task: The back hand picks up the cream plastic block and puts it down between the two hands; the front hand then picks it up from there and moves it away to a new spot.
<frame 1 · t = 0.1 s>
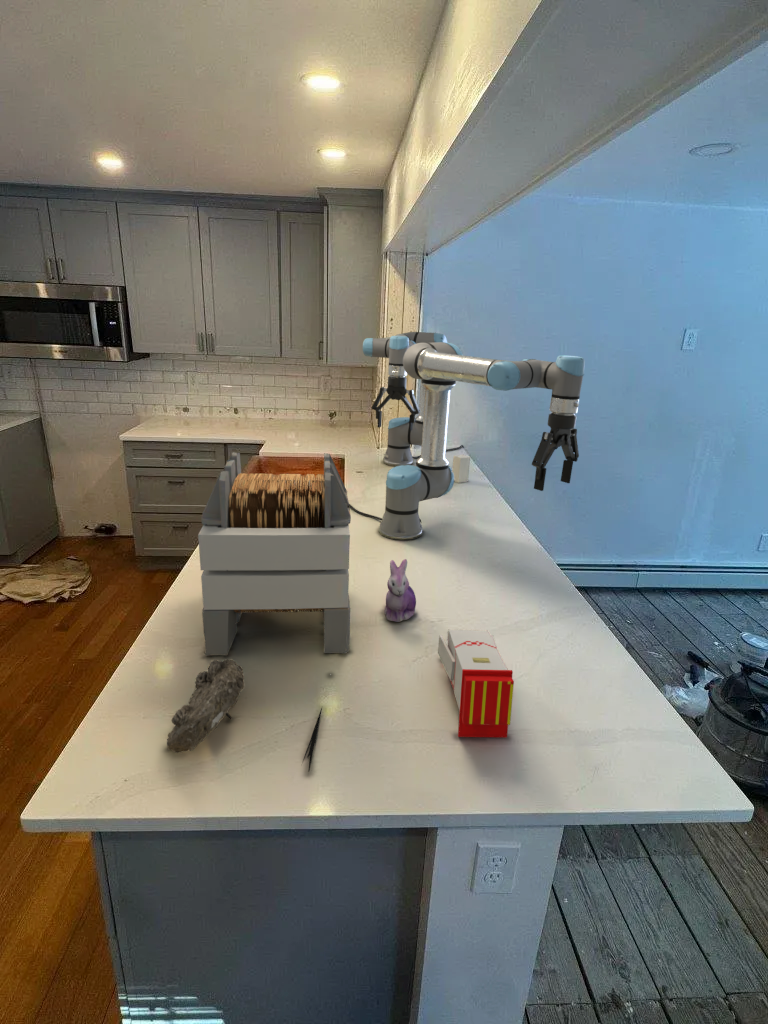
front hand: (552, 485, 166), 28 cm above the counter, tool pointing down, fingers open, 13 cm apart
back hand: (394, 428, 234), 28 cm above the counter, tool pointing down, fingers open, 13 cm apart
figurine: (399, 614, 147), on the counter
record crate: (282, 618, 143), on the counter
block: (459, 480, 266), on the counter
feather: (319, 719, 109), on the counter
toy: (469, 691, 119), on the counter
fossil: (212, 717, 108), on the counter
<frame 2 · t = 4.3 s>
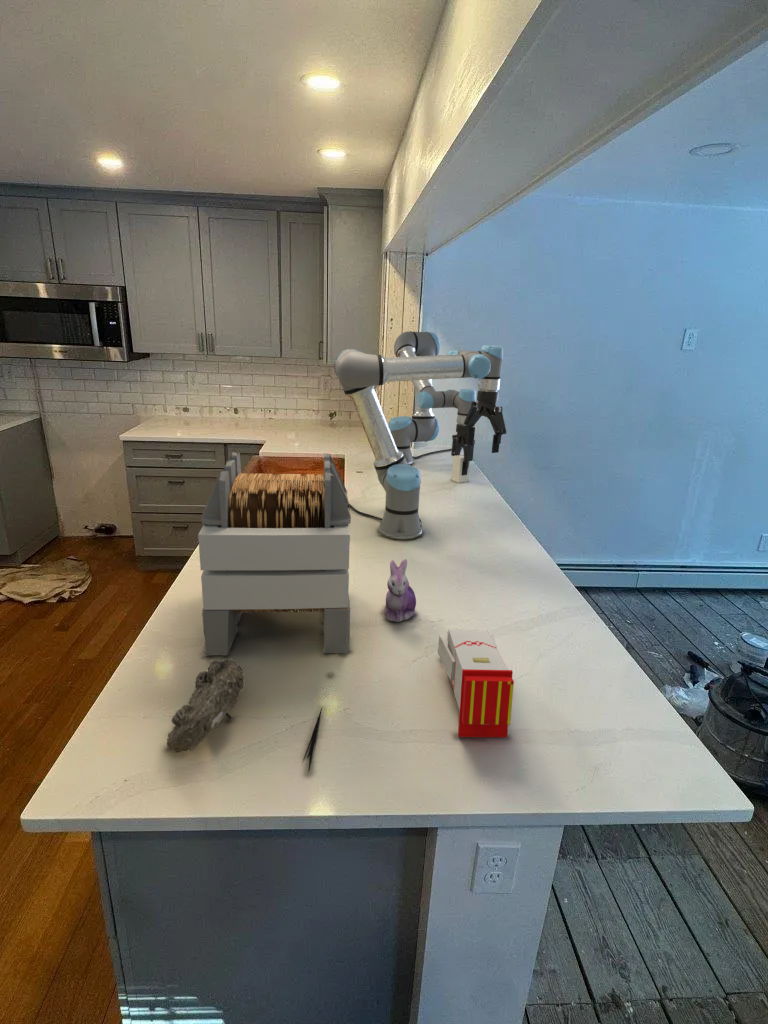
front hand: (482, 448, 210), 27 cm above the counter, tool pointing down, fingers open, 13 cm apart
back hand: (460, 473, 265), 4 cm above the counter, tool pointing down, fingers closed on block, 5 cm apart
block: (459, 480, 266), on the counter, touching back hand
everything else where it was.
when the back hand's fingers open (5 cm above the counter, at t = 10.5 s): block drops 1 cm, on the counter.
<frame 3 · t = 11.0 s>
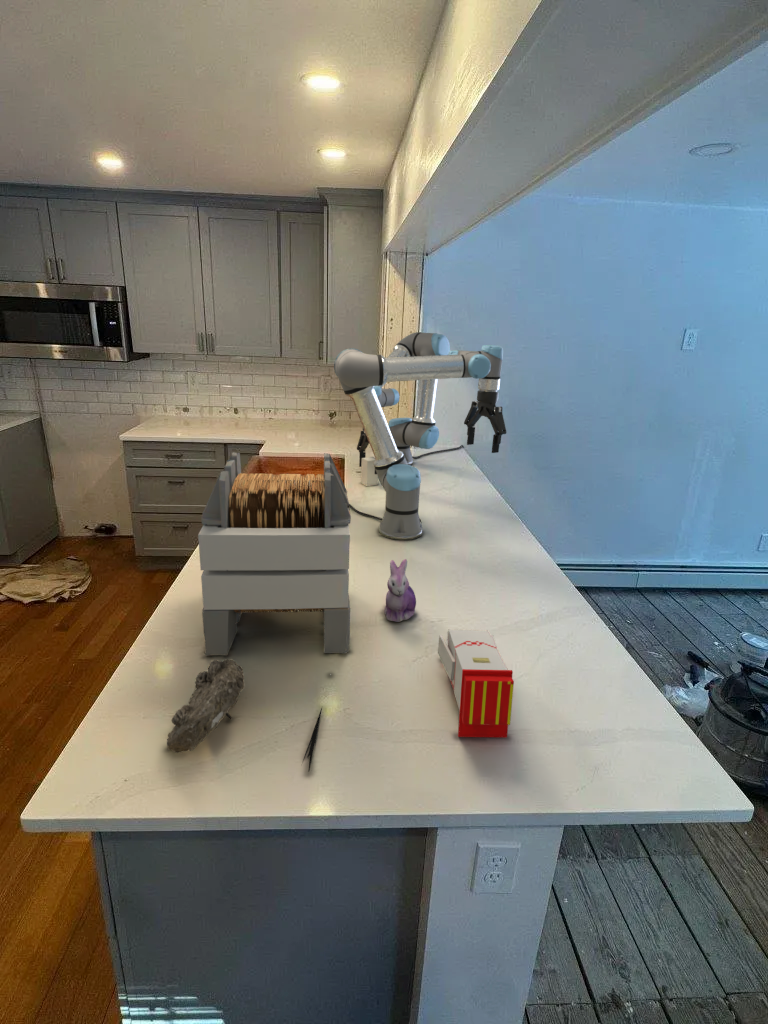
front hand: (482, 448, 210), 27 cm above the counter, tool pointing down, fingers open, 13 cm apart
back hand: (369, 470, 253), 6 cm above the counter, tool pointing down, fingers open, 12 cm apart
block: (369, 483, 255), on the counter
everything else where it was.
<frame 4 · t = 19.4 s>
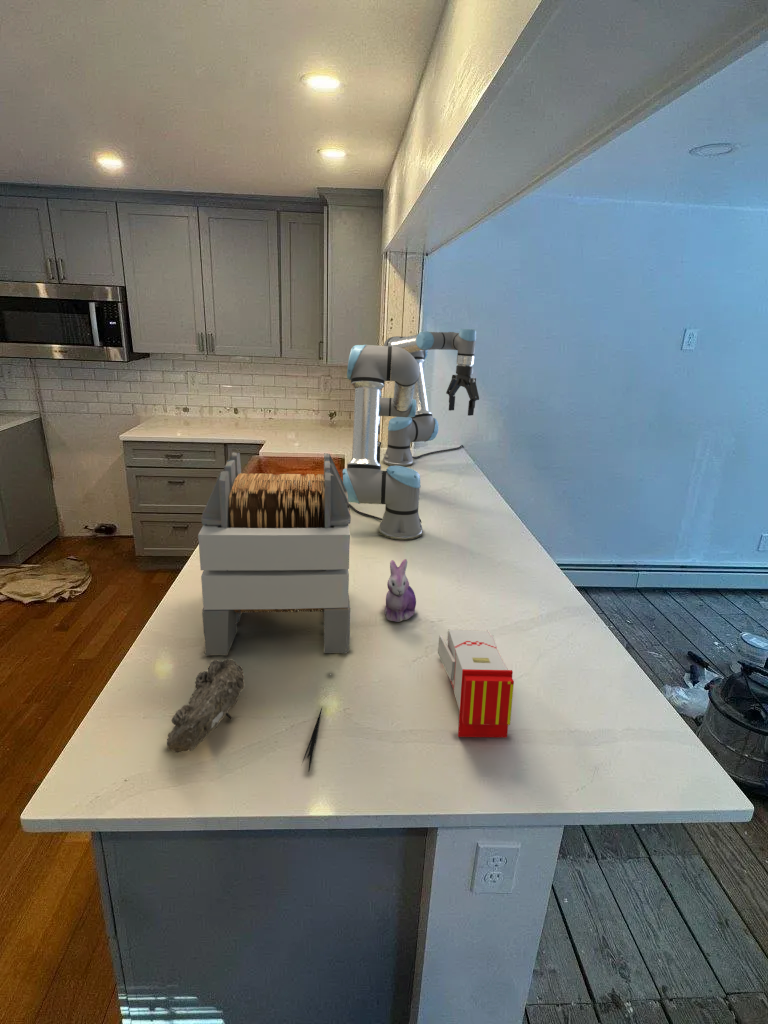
front hand: (369, 476, 254), 4 cm above the counter, tool pointing down, fingers closed on block, 5 cm apart
back hand: (460, 412, 260), 31 cm above the counter, tool pointing down, fingers open, 13 cm apart
block: (369, 483, 255), on the counter, touching front hand
everything else where it was.
when the front hand's fingers open (5 cm above the counter, at t = 29.9 s): block drops 1 cm, on the counter.
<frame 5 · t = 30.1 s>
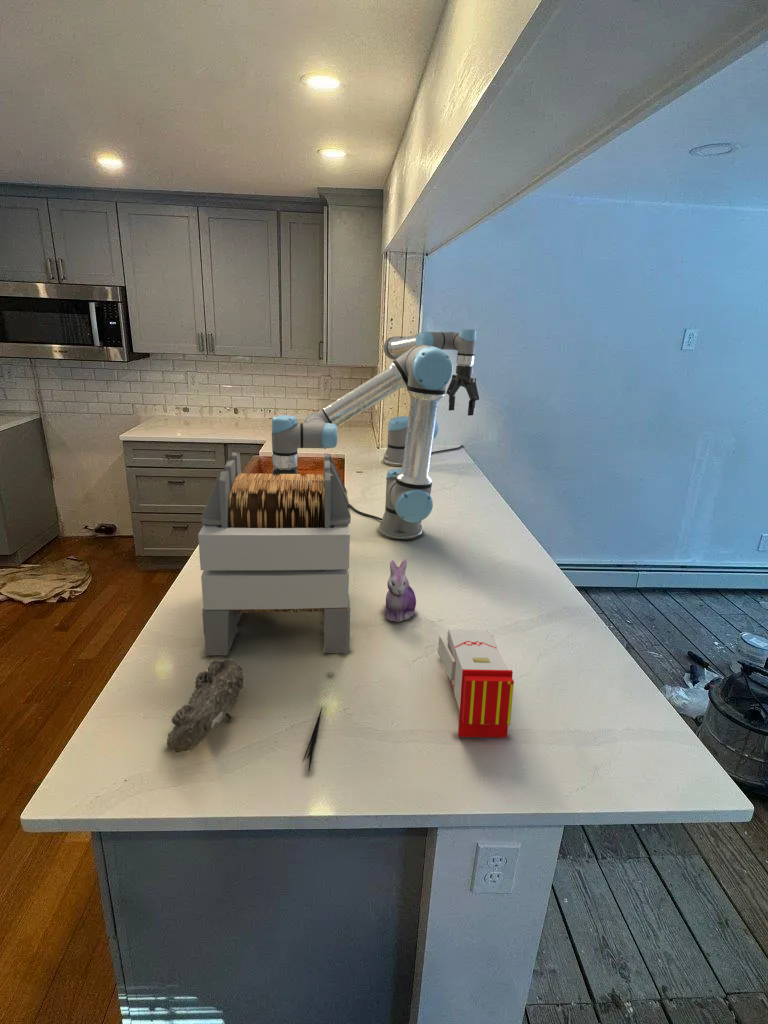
front hand: (286, 535, 181), 5 cm above the counter, tool pointing down, fingers open, 8 cm apart
back hand: (460, 412, 260), 31 cm above the counter, tool pointing down, fingers open, 13 cm apart
block: (286, 550, 182), on the counter
everything else where it was.
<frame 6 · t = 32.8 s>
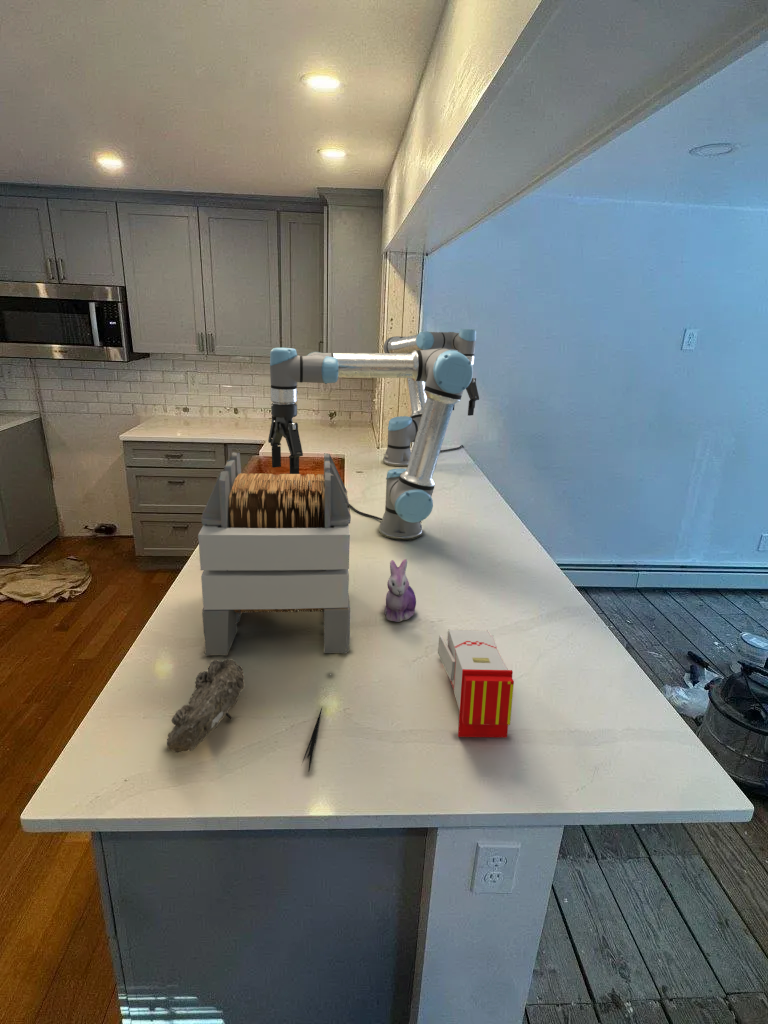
front hand: (285, 472, 173), 26 cm above the counter, tool pointing down, fingers open, 13 cm apart
back hand: (460, 412, 260), 31 cm above the counter, tool pointing down, fingers open, 13 cm apart
nothing on the counter moved.
at the end: block inside the target area (0.0 cm from its centre), on the counter; block tilted 0°; the two hands never held the block at the same time; the front hand is holding nothing; the back hand is holding nothing; block at rest at the end (0.0 cm/s) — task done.
